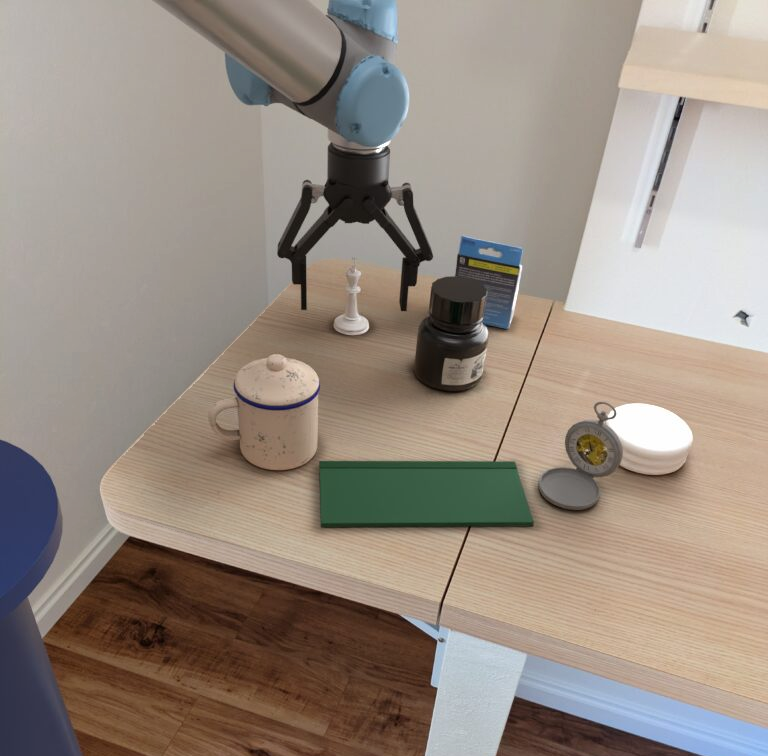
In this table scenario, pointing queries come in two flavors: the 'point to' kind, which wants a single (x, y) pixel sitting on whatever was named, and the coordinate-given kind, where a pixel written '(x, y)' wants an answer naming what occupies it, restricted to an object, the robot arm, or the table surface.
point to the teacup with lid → (274, 412)
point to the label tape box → (492, 276)
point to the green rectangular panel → (422, 494)
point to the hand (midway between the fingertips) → (353, 306)
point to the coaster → (650, 438)
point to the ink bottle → (453, 335)
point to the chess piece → (352, 307)
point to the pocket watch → (583, 464)
